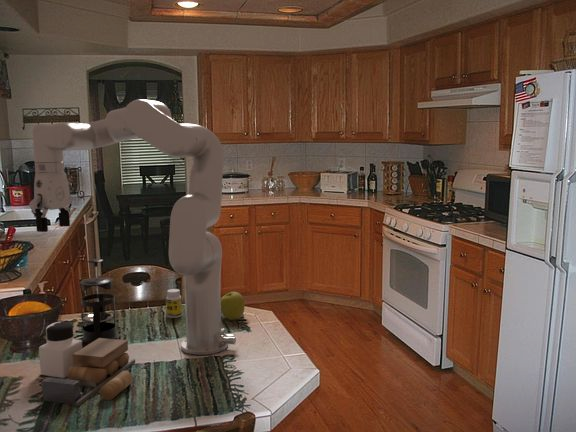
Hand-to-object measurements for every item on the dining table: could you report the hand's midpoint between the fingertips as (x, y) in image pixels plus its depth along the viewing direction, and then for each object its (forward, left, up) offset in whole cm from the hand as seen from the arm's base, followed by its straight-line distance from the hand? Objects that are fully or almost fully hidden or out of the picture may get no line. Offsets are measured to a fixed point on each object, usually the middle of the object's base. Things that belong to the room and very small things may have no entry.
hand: (53, 228), depth 159 cm
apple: (-44, -25, -32) cm, 60 cm away
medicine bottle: (-17, +23, -32) cm, 42 cm away
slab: (-27, +21, -27) cm, 44 cm away
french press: (-13, 0, -31) cm, 34 cm away
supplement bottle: (-25, -23, -31) cm, 46 cm away
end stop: (-27, +37, -31) cm, 55 cm away
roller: (-36, +30, -31) cm, 57 cm away
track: (-27, +26, -31) cm, 49 cm away
